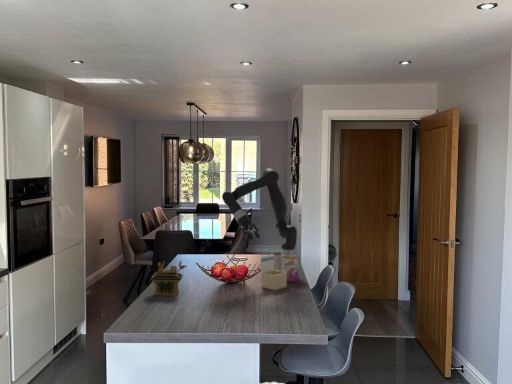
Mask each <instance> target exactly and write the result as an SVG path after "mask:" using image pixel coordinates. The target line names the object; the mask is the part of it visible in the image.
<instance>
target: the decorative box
mask: <svg viewBox="0 0 512 384" xmlns="http://www.w3.org/2000/svg"><path fill="white" fill-rule="evenodd" d="M157 265H158V269H157V271H156V272H154V273H153V274H152V276H151V277H150V280H151V281H152V282H153V283H154V284H155V285H154V286H155V290H154V292H153V295H154V296H164V297H165V296H168V297H169V296H172V297H174V296H175V297H176V296H178V295H179V293H180V290H179V282H180V281H181V280H182V278H183V276H184V275H183V274H182V273H180V270H183V269H185V268H187V267H188V265H182V260H179V263H178V266H179V269H178V268H177V266H176V265H172V266H171V267H170V269H164V266H165V260H162V263H161V262H157Z"/></svg>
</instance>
